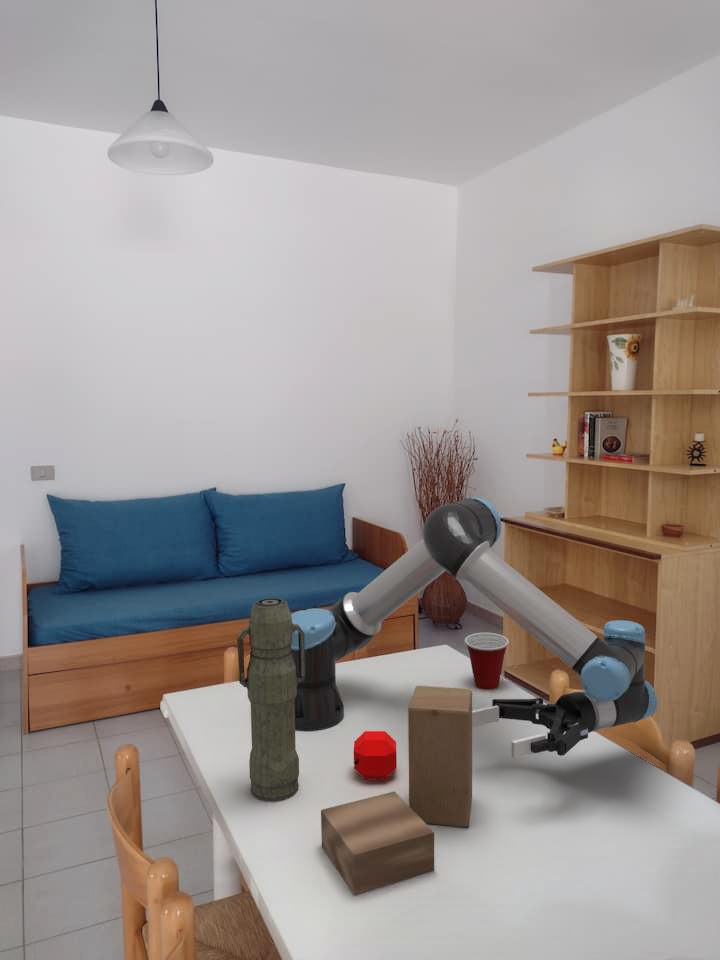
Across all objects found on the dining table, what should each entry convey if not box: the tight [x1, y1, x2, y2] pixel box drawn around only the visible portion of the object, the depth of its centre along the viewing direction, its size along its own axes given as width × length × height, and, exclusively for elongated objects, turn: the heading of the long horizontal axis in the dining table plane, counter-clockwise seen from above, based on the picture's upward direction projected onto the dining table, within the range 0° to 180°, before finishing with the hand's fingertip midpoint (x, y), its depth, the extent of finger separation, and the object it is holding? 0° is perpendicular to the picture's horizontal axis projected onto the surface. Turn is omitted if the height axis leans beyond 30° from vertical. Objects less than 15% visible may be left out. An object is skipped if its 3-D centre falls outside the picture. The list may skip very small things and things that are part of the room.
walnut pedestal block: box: [320, 790, 435, 896], centre depth 111 cm, size 13×13×6 cm
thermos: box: [236, 597, 305, 803], centre depth 130 cm, size 9×12×35 cm
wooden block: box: [407, 685, 473, 828], centre depth 123 cm, size 10×10×20 cm
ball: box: [353, 730, 398, 780], centre depth 136 cm, size 8×8×8 cm
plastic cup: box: [464, 632, 510, 691], centre depth 180 cm, size 11×11×12 cm
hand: (489, 734), depth 127 cm, fingers open, 13 cm apart
